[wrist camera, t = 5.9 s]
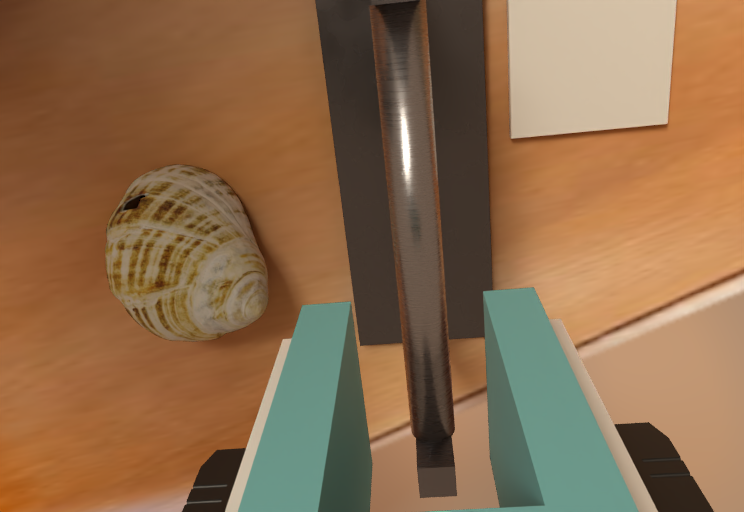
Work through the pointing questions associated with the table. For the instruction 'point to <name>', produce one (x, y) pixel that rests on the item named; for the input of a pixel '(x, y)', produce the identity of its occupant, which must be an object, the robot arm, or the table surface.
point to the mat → (588, 64)
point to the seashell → (185, 256)
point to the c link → (505, 417)
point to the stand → (413, 191)
